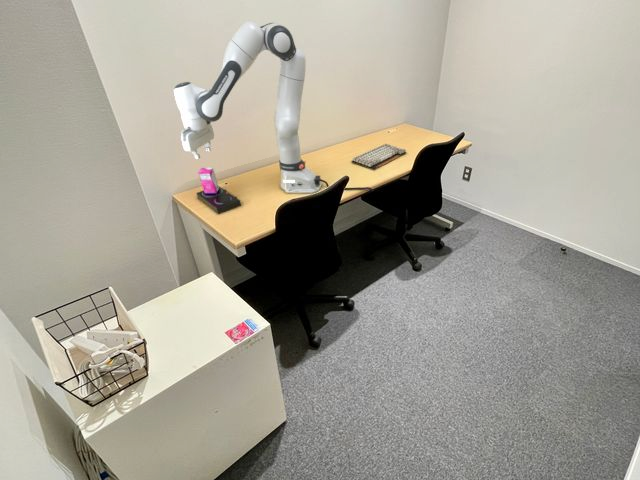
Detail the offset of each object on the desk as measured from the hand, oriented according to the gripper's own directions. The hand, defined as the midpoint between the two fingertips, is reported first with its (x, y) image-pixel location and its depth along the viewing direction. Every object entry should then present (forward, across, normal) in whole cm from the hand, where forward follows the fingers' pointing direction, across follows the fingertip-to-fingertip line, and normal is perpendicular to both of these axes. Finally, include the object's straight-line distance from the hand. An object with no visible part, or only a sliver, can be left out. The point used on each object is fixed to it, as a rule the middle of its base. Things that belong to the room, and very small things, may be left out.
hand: (203, 154), depth 155 cm
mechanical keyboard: (+24, +72, -76) cm, 107 cm away
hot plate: (+22, -5, -4) cm, 23 cm away
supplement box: (+18, -2, 0) cm, 18 cm away
